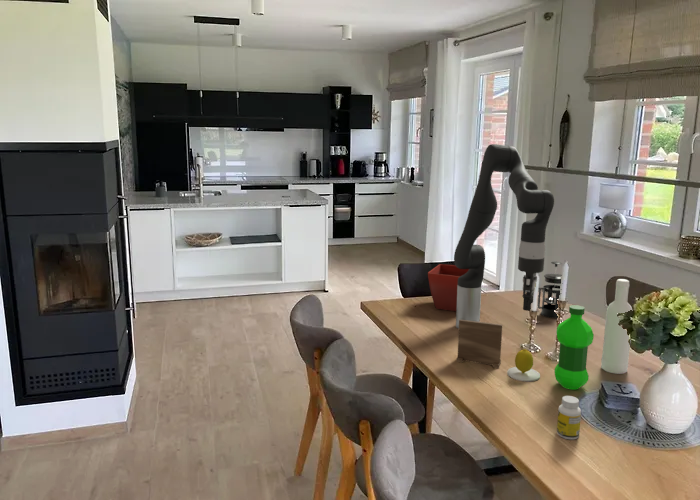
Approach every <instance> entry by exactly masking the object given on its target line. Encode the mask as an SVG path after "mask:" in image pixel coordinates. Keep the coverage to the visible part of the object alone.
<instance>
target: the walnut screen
mask: <svg viewBox="0 0 700 500" xmlns="http://www.w3.org/2000/svg"><path fill="white" fill-rule="evenodd" d="M502 337H503V324H501V323H500V324H499V323H493V322H485V321H480V322H477V321H469V320H461V319H460V320H459V329H458V339H457V341H458V342H457V358H456V359H455V362H456V363H460V364H461V363H463V362H470V363H477V364H483V365H491V366H492V368H496V369H500V366H501V362H502V358H501V355H502V354H501V353H502V342H503V341H502V340H503V338H502Z"/></svg>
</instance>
